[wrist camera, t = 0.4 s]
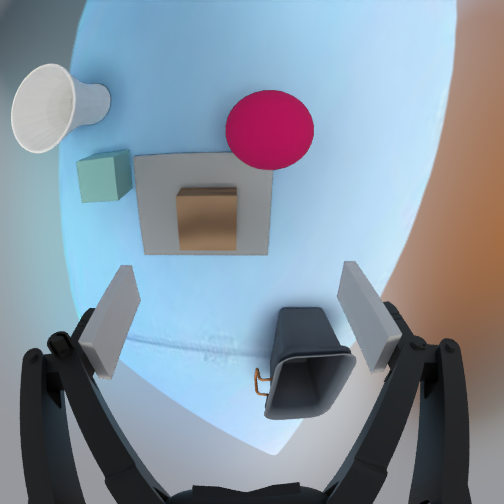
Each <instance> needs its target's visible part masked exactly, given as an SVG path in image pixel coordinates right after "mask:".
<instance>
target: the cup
mask: <svg viewBox="0 0 504 504" xmlns="http://www.w3.org/2000/svg"><path fill="white" fill-rule="evenodd" d="M110 102H111V98H110V94H109V91H108V90H107V89H106V87H104V86H103V85H101V84H84V83H82V82H80V81H79V80H77V79H76V78H75V77H74V76H73V75H71V74H70V73H69V72H68V71H67V70H66V69H65V68H63V67H61V66H60V65H58V64H46V65H42V66H39V67H38V68H36V69H35V70H33V71H32V72H31V73H30V74H29V75H28V76H27V77H26V78H25V79H24V80H23V82H22V83H21V85H20V86H19V88H18V90H17V92H16V95H15V97H14V101H13V105H12V111H11V123H12V129H13V132H14V135H15V138H16V139H17V141H18V142H19V144H20V145H21V146H22V147H23V148H24V149H26V150H27V151H29V152H32V153H44V152H46V151H49V150H51V149H52V148H54V147H55V146H56V145H57V144H58V143H60V142H61V141H62V140H63V139H64V138H65V137H66V136H67V135H68V134H69V133H70V132H71V131H72V130H73V129H75V128H77V127H79V126H81V125H90V124H95V123H98V122H99V121H101V120H102V119H103V118H104V117H105V116H106V114H107V113H108V111H109V108H110Z"/></svg>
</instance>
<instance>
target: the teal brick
mask: <svg viewBox="0 0 504 504" xmlns="http://www.w3.org/2000/svg"><path fill="white" fill-rule="evenodd" d="M76 163H77V171H78V179H79V187H80V193H81V200H82V203H88V202H102V201H118V200H119V199H120V198H122V197H123V196H124V195H125V194H126V193H127V192H128V191H130V190H131V189H132V179H131V167H130V153H129V150H123V151H114V152H106V153H98V154H94V155H91V156H89V157H86V158H84V159H82V160H79V161H77V162H76Z"/></svg>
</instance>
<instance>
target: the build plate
mask: <svg viewBox="0 0 504 504" xmlns="http://www.w3.org/2000/svg"><path fill="white" fill-rule="evenodd" d="M133 158H134V172H135V183H136V194H137V203H138V211H139V219H140V227H141V234H142V241H143V247H144V253H145V255H268V243H269V228H270V212H271V196H272V179H273V170H262V169H257V168H254V167H251V166H249V165H247V164H245V163H244V162H242V161H241V160H239V159H238V158H237V157H236V156H235V155H234V153H233V152H193V153H169V154H153V155H139V156H134V157H133ZM208 187H237V231H236V251H211V250H180V244H179V233H178V221H177V208H176V195H177V194H178V192H179V191H180V189H181V188H208Z"/></svg>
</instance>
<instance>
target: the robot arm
mask: <svg viewBox="0 0 504 504" xmlns="http://www.w3.org/2000/svg"><path fill="white" fill-rule="evenodd" d="M337 298H338V300H339V302H340V304H341V306H342V309H343V311H344V313H345V315H346V317H347V319H348V322H349V324H350V326H351V328H352V330H353V333H354V335H355V337H356V339H357V342H358V344H359V346H360V348H361V351H362V353H363V355H364V358H365V360H366V362H367V365H368V367H369V369H370V372H371V373H377V372H381V371H384V370H385V368H386V366H387V364H388V365H389V367H390V371H389V373H388V375H387V376H386V378H385V380H384V382H385V383H384V385H383V388H382V389H381V392H380V394H379V396H378V398H377V401H376V403H375V405H374V407H373V409H372V411H371V413H370V415H369V417H368V419H367V421H366V423H365V425H364V427H363V429H362V431H361V433H360V435H359V436H358V438H357V440H356V442H355V444H354V445H353V447H352V449H351V451H350V452H349V454H348V456H347V457H346V459H345V461H344V462H343V464H342V466H341V467H340V469H339V470H338V472H337V474H336V475H335V476H334V478H333V479H332V480H331V482H330V483H329V484H328V485H327V487H326V488H325V490H324V491H323V492H321V491H318V490H316V489H312V488H309V487H303V486H300V483H299V482H297V483H288V484H279V485H272V486H268V487H265V488H262V489H258V490H254V491H250V492H241V491H236V490H231V489H227V488H222V487H214V486H194V485H193V487H192V490H187V491H183V492H180V493H177V494H176V495H174V496H172V497H170V496H169V494H168V493H167V492H166V491H165V490H164V489H163V488H162V487H161V485H160V484H159V483H158V482H157V481H156V480H155V479H154V478H153V476H152V475H151V473H150V472H149V471H148V469H147V468H146V466H145V465H144V464H143V462H142V461H141V459H140V458H139V457H138V455H137V454H136V452H135V451H134V449H133V448H132V446H131V445H130V443H129V441H128V440H127V438H126V437H125V435H124V433H123V432H122V430H121V429H120V427H119V425H118V423H117V422H116V420H115V418H114V417H113V415H112V413H111V411H110V409H109V408H108V406H107V404H106V402H105V400H104V398H103V396H102V394H101V392H100V390H99V388H98V386H97V384H96V382H95V380H94V378H93V374H94V372H96V374H97V376H98V377H99V378H103V379H110V380H111V379H112V376H113V373H114V370H115V368H116V365H117V362H118V359H119V356H120V353H121V350H122V348H123V345H124V342H125V339H126V337H127V334H128V331H129V329H130V326H131V324H132V321H133V319H134V316H135V313H136V311H137V308H138V306H139V304H140V301H141V300H140V296H139V292H138V288H137V284H136V280H135V276H134V272H133V268H132V265H121V266H120V268H119V269H118V271H117V273H116V274H115V276H114V278H113V279H112V281H111V283H110V284H109V286H108V288H107V289H106V291H105V293H104V295H103V296H102V298H101V300H100V302H99V303H98V305H97V307H96V308H89V309H88V310H87V311H86V312H85V313H84V314H83V316H82V318H81V319H80V321H79V323H78V325H77V327H76V328H75V330H74V332H73V334H72V336H71V338H70V336H69V335H68V333H66V332H64V331H63V332H62V331H60V332H56V333H54V334H53V335H51V337H50V338H49V339H48V341H47V346H48V348H49V350H50V351H51V353H52V354H45V355H43V353H42V351H41V350H40V349H38V348H33V349H30V350H29V351H27V352H26V354H25V355H24V357H23V362H22V373H21V388H20V436H21V450H22V460H23V469H24V476H25V482H26V487H27V493H28V498H29V499H28V504H86V503H85V500H84V497H83V493H82V490H81V487H80V483H79V479H78V476H77V471H76V467H75V462H74V458H73V453H72V448H71V442H70V437H69V430H68V423H67V415H66V407H65V398H64V390H65V392H66V395H67V398H68V400H69V403H70V406H71V408H72V411H73V413H74V415H75V418H76V420H77V423H78V425H79V427H80V429H81V432H82V434H83V436H84V438H85V440H86V442H87V444H88V446H89V448H90V450H91V452H92V454H93V456H94V458H95V460H96V462H97V464H98V465H99V467H100V469H101V471H102V472H103V474H104V476H105V484H106V486H107V488H108V490H109V491H110V493H111V494H112V496H113V497H114V499H115V500H116V502H117V503H118V504H373V502H374V500H375V498H376V497H377V495H378V493H379V491H380V489H381V487H382V485H383V483H384V481H385V479H386V477H387V473H388V472H387V467H388V465H389V462H390V460H391V458H392V456H393V454H394V451H395V449H396V447H397V444H398V442H399V440H400V437H401V435H402V432H403V430H404V427H405V424H406V422H407V419H408V416H409V413H410V410H411V407H412V404H413V401H414V398H415V395H416V392H417V388H418V385H419V382H420V416H419V430H418V442H417V451H416V459H415V466H414V473H413V479H412V484H411V489H410V495H409V503H408V504H472V503H471V498H470V493H469V488H468V473H469V414H468V401H467V392H466V382H465V375H464V368H463V362H462V356H461V350H460V347H459V345H458V344H457V342H455V341H454V340H452V339H449V338H445V339H443V340H442V341H441V342H440V344H439V345H429V344H427V343H426V341H425V340H424V339H423V338H421V337H419V336H414V335H413V333H412V332H411V330H410V329H409V327H408V325H407V324H406V322H405V321H404V319H403V318H402V316H401V315H400V314H399V311H398V310H397V308H396V307H395V306H394V305H393V304H391V303H390V302H382V301H381V299H380V297H379V296H378V294H377V293H376V291H375V290H374V288H373V287H372V285H371V284H370V282H369V281H368V279H367V278H366V276H365V275H364V273H363V272H362V270H361V269H360V267H359V266H358V264H357V263H356V261H344V265H343V270H342V275H341V280H340V285H339V290H338V294H337Z"/></svg>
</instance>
